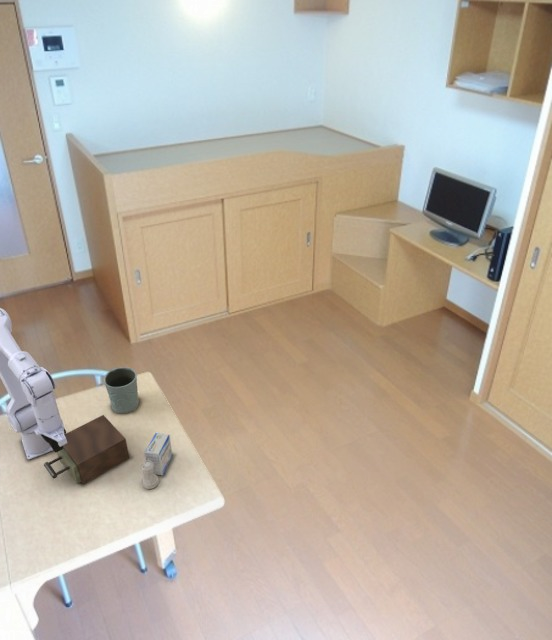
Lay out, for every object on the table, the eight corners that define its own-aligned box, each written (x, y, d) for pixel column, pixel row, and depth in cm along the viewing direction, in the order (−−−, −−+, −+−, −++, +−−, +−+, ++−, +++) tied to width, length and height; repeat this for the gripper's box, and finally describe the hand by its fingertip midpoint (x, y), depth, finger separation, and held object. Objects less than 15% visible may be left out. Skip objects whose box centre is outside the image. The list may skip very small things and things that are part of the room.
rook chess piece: (161, 479, 148) (158, 459, 143) (153, 491, 144) (150, 471, 140) (147, 475, 149) (144, 455, 145) (139, 487, 145) (135, 467, 141)
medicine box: (162, 476, 149) (159, 454, 144) (148, 473, 149) (143, 452, 145) (173, 455, 155) (169, 434, 151) (158, 453, 156) (155, 431, 151)
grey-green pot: (127, 391, 180) (122, 363, 173) (148, 402, 175) (143, 374, 168) (103, 407, 173) (96, 378, 166) (124, 420, 168) (118, 391, 161)
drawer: (60, 493, 143) (55, 477, 139) (42, 467, 150) (36, 452, 147) (121, 458, 153) (118, 443, 150) (101, 436, 161) (97, 421, 157)
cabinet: (83, 484, 146) (77, 464, 142) (62, 457, 154) (56, 438, 150) (129, 458, 154) (125, 438, 150) (107, 433, 163) (103, 414, 158)
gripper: (20, 405, 139) (33, 442, 146) (42, 434, 130) (54, 472, 137) (46, 393, 143) (57, 430, 150) (70, 421, 134) (80, 458, 141)
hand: (58, 449), depth 144 cm, fingers closed
